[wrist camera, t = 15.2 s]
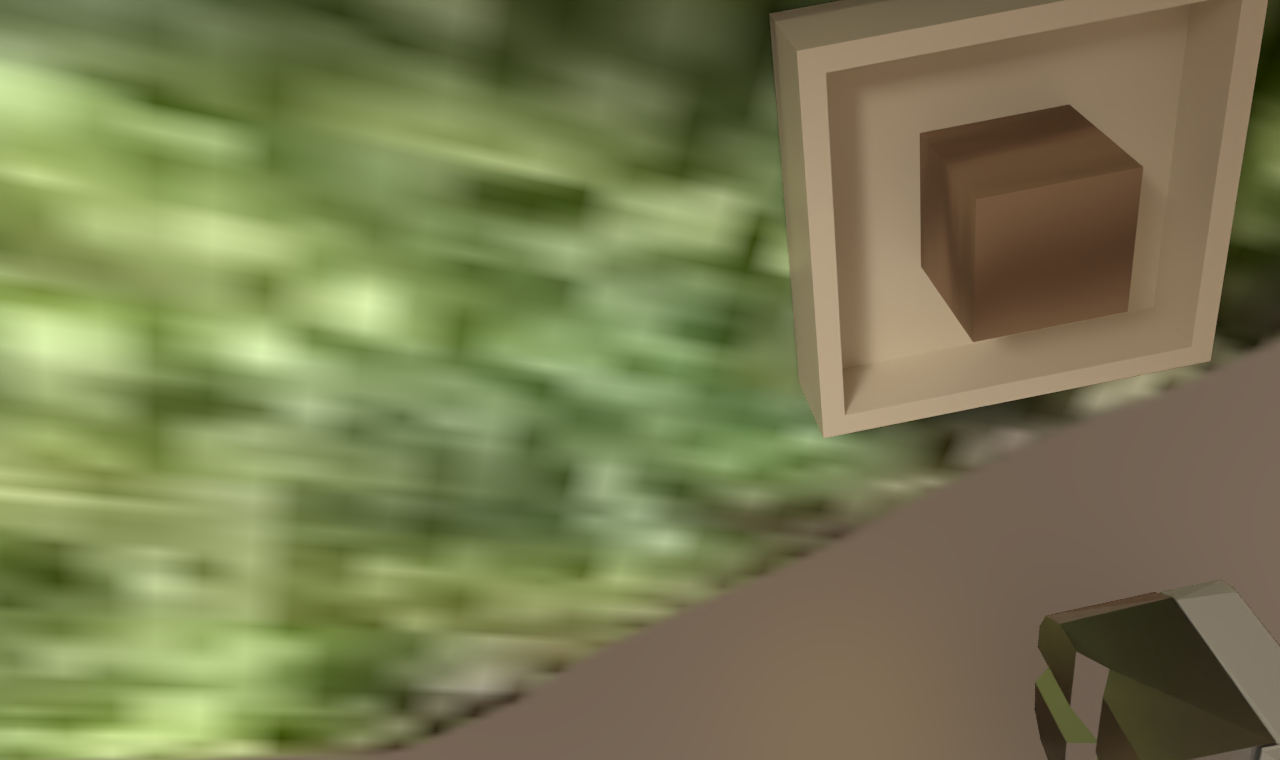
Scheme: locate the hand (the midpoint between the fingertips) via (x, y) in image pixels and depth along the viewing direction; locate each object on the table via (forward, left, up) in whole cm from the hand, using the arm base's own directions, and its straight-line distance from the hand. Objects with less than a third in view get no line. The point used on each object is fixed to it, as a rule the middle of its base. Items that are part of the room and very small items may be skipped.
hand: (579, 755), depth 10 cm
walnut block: (+11, +15, -28) cm, 34 cm away
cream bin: (+11, +15, -29) cm, 34 cm away
